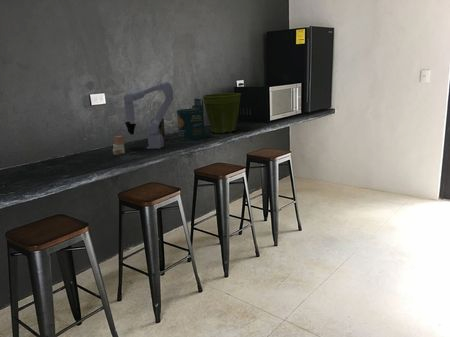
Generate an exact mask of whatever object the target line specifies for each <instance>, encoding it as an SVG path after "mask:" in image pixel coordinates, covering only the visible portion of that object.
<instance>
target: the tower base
mask: <svg viewBox="0 0 450 337" xmlns="http://www.w3.org/2000/svg"><path fill="white" fill-rule="evenodd" d="M125 150H126V148H124V149H123V150H114V149H113V148H112V154H113V155H116V156H117V155H122V154H126V152H125Z"/></svg>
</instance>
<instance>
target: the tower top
mask: <svg viewBox="0 0 450 337" xmlns="http://www.w3.org/2000/svg"><path fill="white" fill-rule="evenodd" d="M112 145H113V146H112V147H113V148H112V150H113V149H114V150H123V149H125V144H122V145H115V143H114V144H112Z"/></svg>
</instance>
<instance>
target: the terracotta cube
mask: <svg viewBox="0 0 450 337" xmlns="http://www.w3.org/2000/svg"><path fill="white" fill-rule="evenodd" d="M113 142H114V144H115V145H122V144H124V145H125V144H126V143H125V136H124V135H116V136H113Z"/></svg>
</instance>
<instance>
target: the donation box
mask: <svg viewBox="0 0 450 337" xmlns="http://www.w3.org/2000/svg"><path fill="white" fill-rule="evenodd" d="M193 101H194V105H191V108H182V109H177V110H176V115H177V125H178V126H177V127H178V140H180V141H185V142H191V141H198V139H199V140H205V139H204V138H206V134H205V118H204V113H205V112H204V100H203V98H202V99H201V98H197V97H196V98H195V97H194V99H193Z"/></svg>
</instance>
